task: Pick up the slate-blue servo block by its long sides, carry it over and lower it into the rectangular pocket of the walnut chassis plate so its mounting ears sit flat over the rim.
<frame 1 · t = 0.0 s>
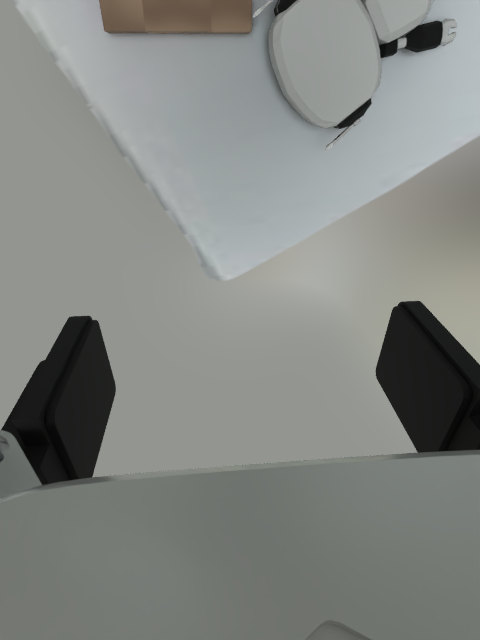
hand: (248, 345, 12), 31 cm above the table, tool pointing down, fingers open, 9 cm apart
robot toy: (347, 34, 33), on the table
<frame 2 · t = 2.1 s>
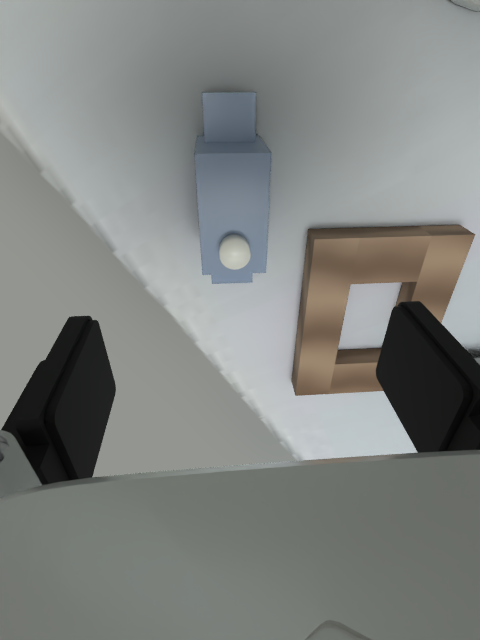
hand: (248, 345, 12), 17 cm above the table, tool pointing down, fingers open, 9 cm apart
chassis: (364, 313, 33), on the table
servo: (228, 190, 26), on the table
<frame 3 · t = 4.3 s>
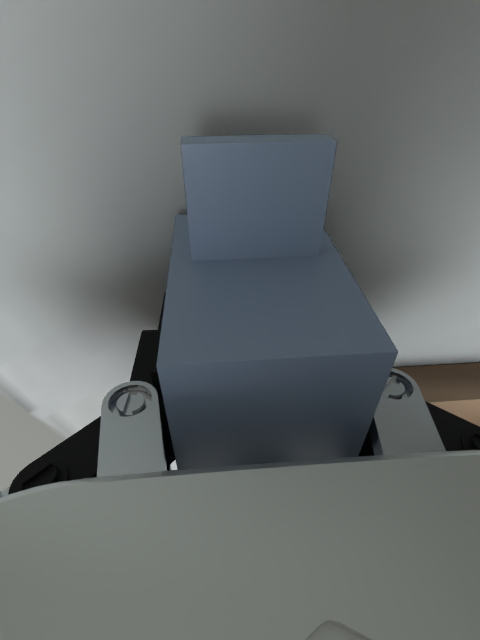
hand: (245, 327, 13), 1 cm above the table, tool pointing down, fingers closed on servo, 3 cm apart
chassis: (458, 469, 20), on the table
servo: (244, 308, 13), on the table, touching gripper
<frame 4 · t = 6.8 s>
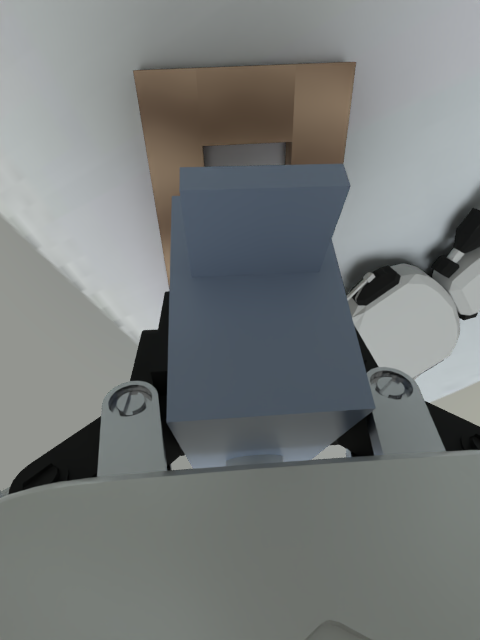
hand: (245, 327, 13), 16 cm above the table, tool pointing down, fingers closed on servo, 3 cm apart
chassis: (245, 203, 26), on the table
servo: (241, 272, 13), point 14 cm above the table, tilted 25°, touching gripper
robot toy: (420, 285, 31), on the table
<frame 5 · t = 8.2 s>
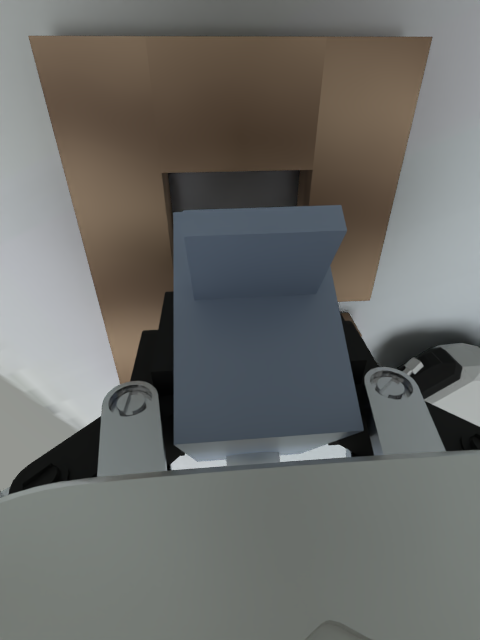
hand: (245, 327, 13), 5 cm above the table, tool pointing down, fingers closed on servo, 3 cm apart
chassis: (235, 256, 17), on the table
servo: (241, 275, 13), point 4 cm above the table, tilted 31°, touching gripper
robot toy: (474, 362, 23), on the table
when the fingers open (3 cm above the table, at t = 9.5 s): servo drops 1 cm, resting on chassis.
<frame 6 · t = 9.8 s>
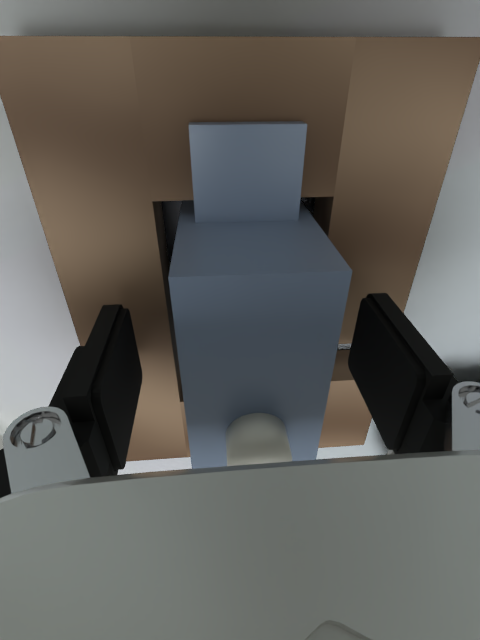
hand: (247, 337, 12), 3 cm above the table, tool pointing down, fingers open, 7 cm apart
chassis: (239, 289, 15), on the table
servo: (240, 283, 15), resting on chassis
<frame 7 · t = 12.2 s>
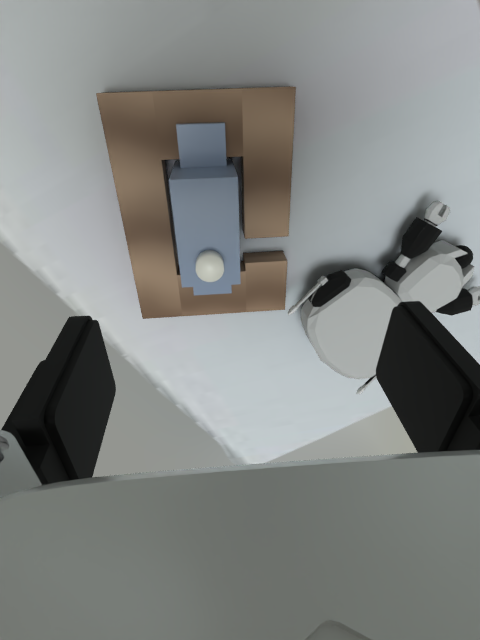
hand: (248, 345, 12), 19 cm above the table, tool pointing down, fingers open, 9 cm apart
chassis: (207, 212, 28), on the table
servo: (207, 208, 28), resting in chassis
robot toy: (376, 289, 34), on the table
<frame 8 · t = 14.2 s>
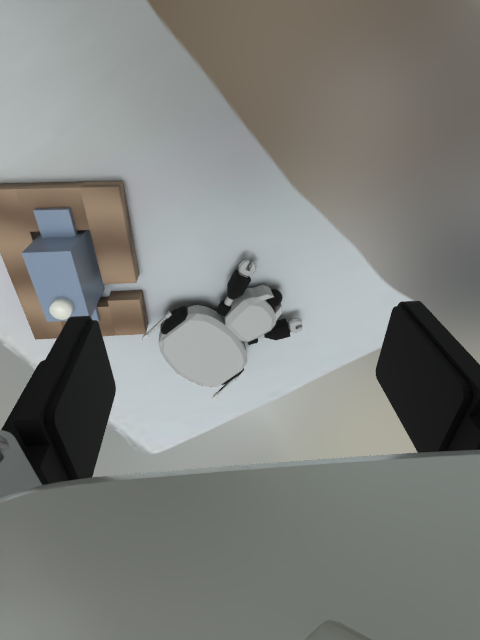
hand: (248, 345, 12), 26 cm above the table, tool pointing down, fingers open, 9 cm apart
chassis: (77, 262, 38), on the table
servo: (77, 259, 37), resting in chassis
robot toy: (225, 318, 43), on the table
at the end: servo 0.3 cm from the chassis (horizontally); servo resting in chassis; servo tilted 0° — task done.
